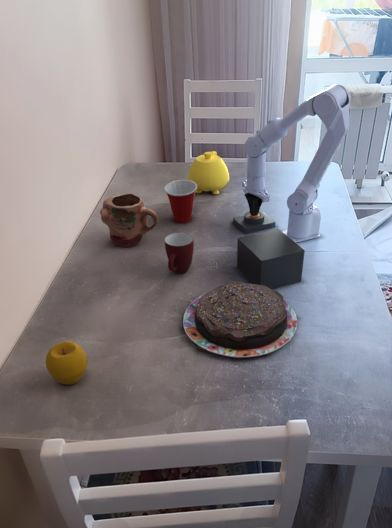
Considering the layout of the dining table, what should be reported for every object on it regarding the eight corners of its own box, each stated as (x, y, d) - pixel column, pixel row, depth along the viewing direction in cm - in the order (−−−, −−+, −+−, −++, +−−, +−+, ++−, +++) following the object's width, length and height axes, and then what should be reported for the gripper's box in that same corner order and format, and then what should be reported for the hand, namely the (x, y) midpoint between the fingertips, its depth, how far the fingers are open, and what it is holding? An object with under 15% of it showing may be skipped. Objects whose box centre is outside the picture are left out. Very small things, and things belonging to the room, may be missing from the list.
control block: (261, 215, 165) (262, 206, 163) (275, 226, 158) (275, 216, 156) (233, 222, 162) (233, 212, 159) (245, 233, 155) (245, 223, 153)
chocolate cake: (164, 346, 112) (162, 324, 108) (204, 283, 133) (204, 262, 129) (283, 372, 104) (286, 349, 100) (306, 301, 125) (309, 279, 121)
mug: (187, 284, 133) (186, 252, 127) (160, 280, 135) (157, 249, 129) (198, 264, 141) (197, 233, 135) (172, 261, 143) (169, 231, 137)
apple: (55, 365, 108) (46, 335, 103) (93, 363, 108) (86, 333, 103) (47, 393, 101) (38, 362, 96) (88, 391, 102) (80, 360, 96)
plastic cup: (161, 224, 162) (158, 190, 155) (174, 210, 170) (172, 178, 163) (191, 229, 159) (189, 194, 152) (203, 215, 167) (202, 181, 159)
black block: (236, 268, 139) (237, 237, 133) (275, 258, 142) (277, 228, 136) (259, 292, 128) (261, 261, 122) (301, 281, 132) (304, 250, 126)
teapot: (195, 175, 196) (194, 141, 187) (233, 177, 193) (234, 143, 184) (184, 195, 180) (182, 159, 172) (225, 198, 177) (225, 161, 169)
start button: (256, 216, 161) (256, 211, 160) (261, 220, 158) (261, 215, 157) (246, 218, 160) (246, 213, 159) (251, 222, 157) (252, 217, 156)
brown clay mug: (168, 235, 156) (165, 195, 147) (154, 254, 146) (150, 211, 138) (111, 229, 161) (105, 189, 152) (95, 246, 151) (87, 205, 143)
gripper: (234, 168, 154) (233, 208, 162) (255, 184, 143) (253, 226, 151) (253, 165, 156) (252, 204, 164) (276, 180, 145) (273, 221, 153)
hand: (254, 214), depth 158 cm, fingers closed, pressing on start button
